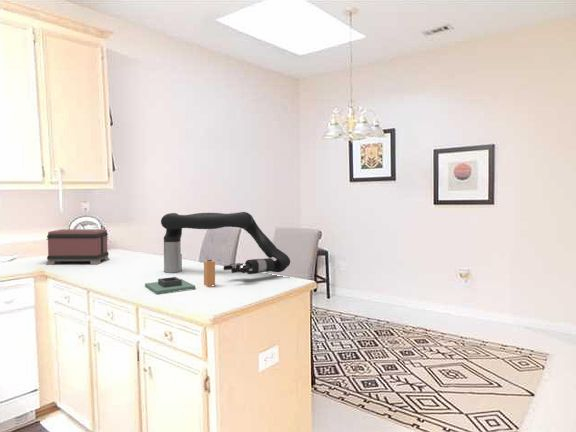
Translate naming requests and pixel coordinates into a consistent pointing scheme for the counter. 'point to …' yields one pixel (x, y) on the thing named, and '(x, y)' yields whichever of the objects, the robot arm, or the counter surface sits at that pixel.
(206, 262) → the plug
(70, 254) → the reddish brown chest
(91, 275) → the counter surface
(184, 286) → the board
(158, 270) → the counter surface
